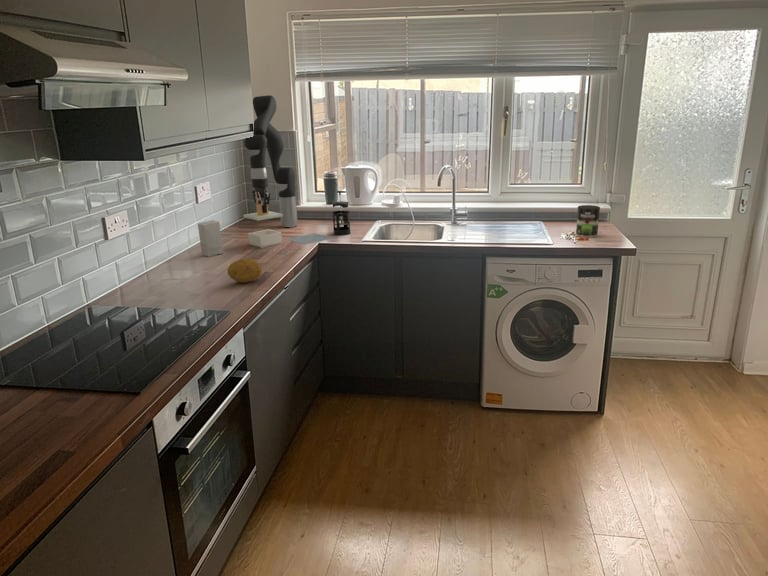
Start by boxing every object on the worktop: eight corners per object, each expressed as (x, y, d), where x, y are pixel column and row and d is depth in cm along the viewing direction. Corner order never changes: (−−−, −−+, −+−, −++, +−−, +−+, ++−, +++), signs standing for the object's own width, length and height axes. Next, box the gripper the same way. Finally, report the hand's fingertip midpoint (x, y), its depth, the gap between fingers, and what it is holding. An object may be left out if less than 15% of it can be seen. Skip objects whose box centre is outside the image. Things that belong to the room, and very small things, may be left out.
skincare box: (217, 251, 277) (213, 219, 272) (224, 253, 272) (220, 221, 268) (201, 255, 271) (196, 222, 267) (208, 257, 267) (203, 224, 262)
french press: (346, 237, 298) (343, 192, 291) (329, 236, 302) (327, 192, 295) (354, 232, 309) (352, 189, 302) (338, 231, 312) (336, 189, 305)
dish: (249, 244, 289) (248, 233, 287) (270, 240, 296) (269, 229, 295) (261, 248, 280) (260, 236, 279) (282, 244, 288) (281, 232, 286)
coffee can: (597, 237, 278) (599, 209, 274) (574, 236, 282) (576, 208, 278) (598, 233, 287) (600, 205, 283) (576, 232, 291) (578, 204, 287)
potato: (226, 281, 228) (223, 258, 225) (259, 276, 233) (257, 254, 231) (231, 287, 220) (228, 264, 217) (265, 282, 225) (263, 259, 222)
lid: (243, 217, 285) (242, 204, 283) (268, 213, 294) (267, 201, 292) (257, 220, 275) (256, 207, 273) (282, 216, 283) (281, 203, 282)
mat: (285, 240, 297) (285, 239, 296) (314, 234, 308) (314, 233, 308) (304, 245, 284) (304, 244, 283) (334, 239, 295) (334, 238, 295)
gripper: (245, 177, 281) (248, 211, 286) (259, 179, 271) (263, 215, 276) (258, 175, 286) (262, 209, 291) (273, 177, 275) (276, 212, 281)
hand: (262, 212), depth 283 cm, fingers closed on lid, 4 cm apart
